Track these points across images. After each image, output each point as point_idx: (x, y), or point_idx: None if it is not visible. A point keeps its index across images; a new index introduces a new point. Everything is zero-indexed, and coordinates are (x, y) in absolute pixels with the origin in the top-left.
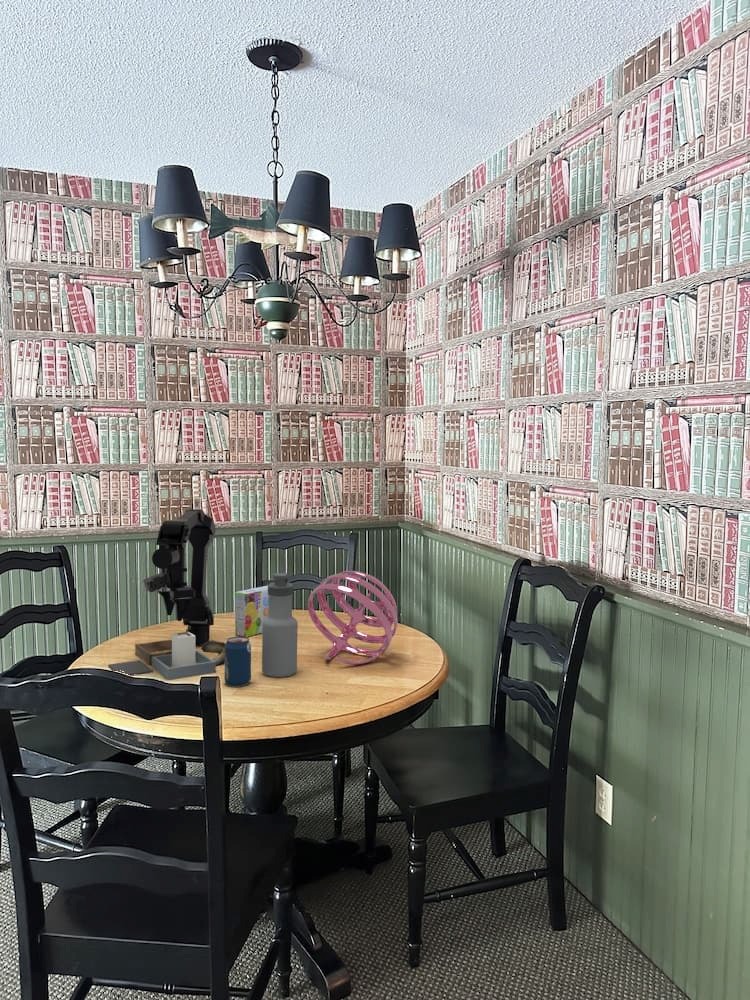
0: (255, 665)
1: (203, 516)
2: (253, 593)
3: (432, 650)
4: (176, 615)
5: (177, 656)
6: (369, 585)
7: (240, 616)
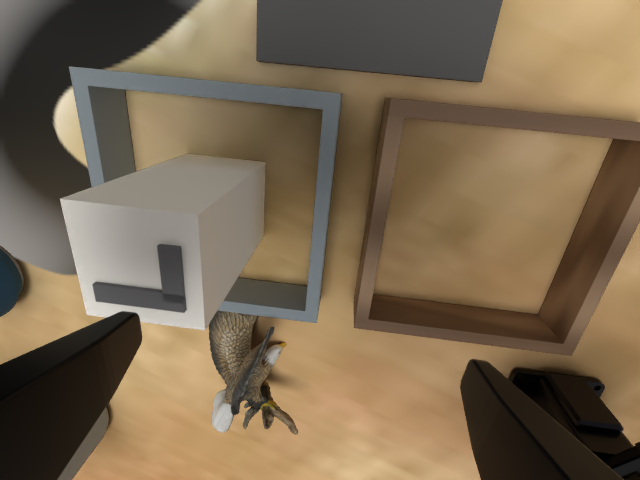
0: (161, 395)
1: None
2: None
3: None
4: (81, 342)
5: (153, 169)
6: None
7: None
